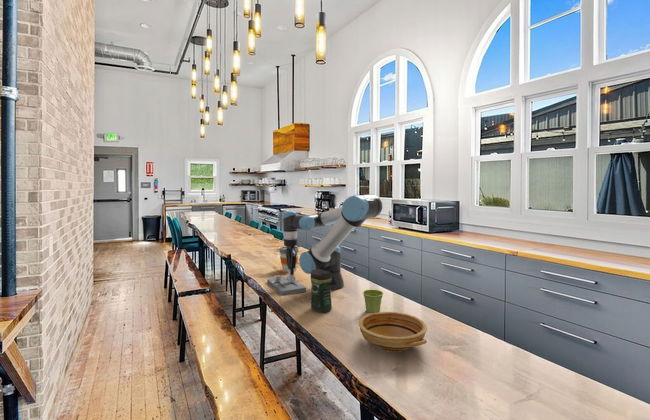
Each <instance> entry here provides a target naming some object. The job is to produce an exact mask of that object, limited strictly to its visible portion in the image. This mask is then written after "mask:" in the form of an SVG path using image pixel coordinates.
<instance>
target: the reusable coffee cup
mask: <svg viewBox="0 0 650 420" xmlns="http://www.w3.org/2000/svg"><path fill="white" fill-rule="evenodd" d="M294 247H295V252H297V255H296V267H295V268H294V272H296V271H297V267H298V266H297V265H298V263H299V247H298V246H294ZM285 249H287V246H281V247H280V248H279V254H280V255H279V257H280V259H279V260H280V263H281V267H282V271H283V272H284V271H285V272H284V273H289V269H288V266H287V260H286V252H285Z"/></svg>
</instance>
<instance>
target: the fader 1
mask: <svg viewBox="0 0 650 420" xmlns="http://www.w3.org/2000/svg"><path fill="white" fill-rule="evenodd" d="M281 277H282V276H281V275H279V274H278V275H277V274H276V275H274V276H273V278H275V282H281Z"/></svg>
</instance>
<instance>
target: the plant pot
mask: <svg viewBox="0 0 650 420" xmlns="http://www.w3.org/2000/svg"><path fill="white" fill-rule="evenodd" d="M362 294H363V298H364V304H365V312H367V314H369V313H371V314H372V313H377V312H381V311H380V310H381V304H382V298H383V295H384V292H383V291H382V290H379V289H365V290H363V291H362Z"/></svg>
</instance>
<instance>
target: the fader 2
mask: <svg viewBox="0 0 650 420" xmlns="http://www.w3.org/2000/svg"><path fill="white" fill-rule="evenodd" d="M296 281H297V280H296V276H295V275H294V276H290V277H289V282H290V283H294V282H296Z"/></svg>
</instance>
